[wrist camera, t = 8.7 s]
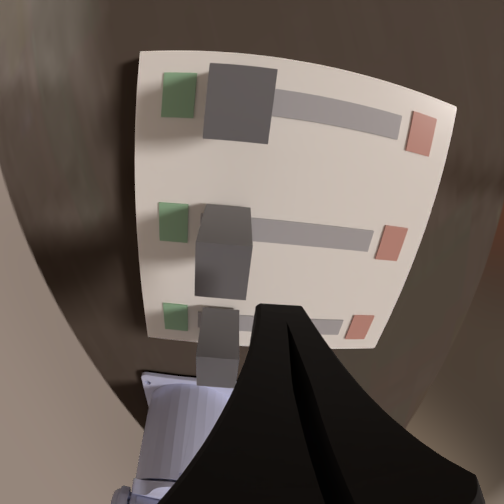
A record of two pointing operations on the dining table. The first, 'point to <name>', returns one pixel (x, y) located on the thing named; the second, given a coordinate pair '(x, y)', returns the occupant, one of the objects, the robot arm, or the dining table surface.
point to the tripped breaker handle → (223, 252)
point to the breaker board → (280, 193)
